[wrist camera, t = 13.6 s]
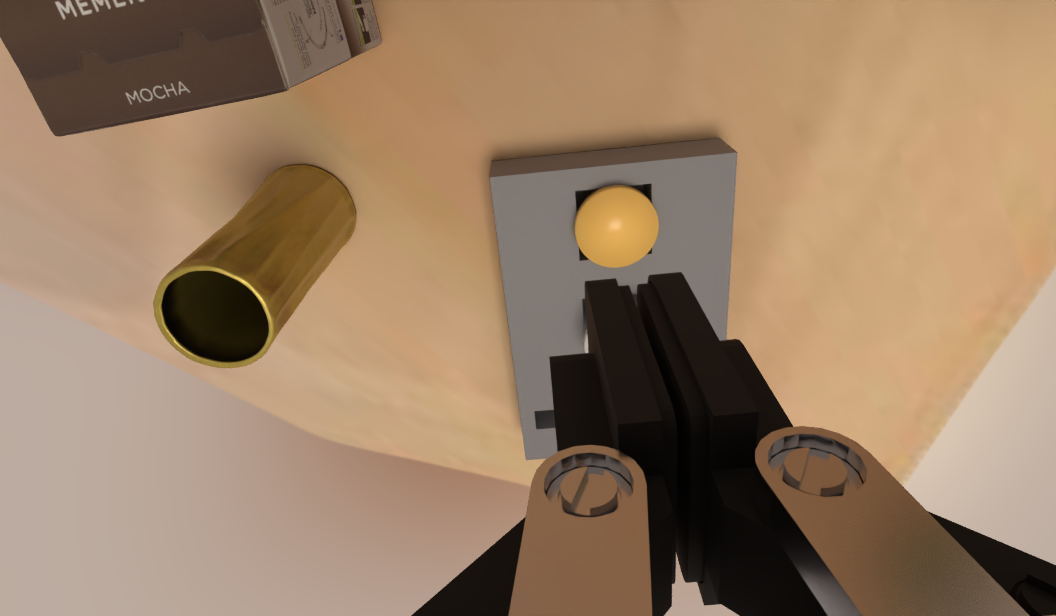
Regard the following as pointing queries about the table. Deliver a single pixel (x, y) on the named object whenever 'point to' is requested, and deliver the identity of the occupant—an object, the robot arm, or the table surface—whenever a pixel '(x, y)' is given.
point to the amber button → (616, 226)
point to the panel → (561, 268)
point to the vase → (255, 269)
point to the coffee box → (173, 53)
